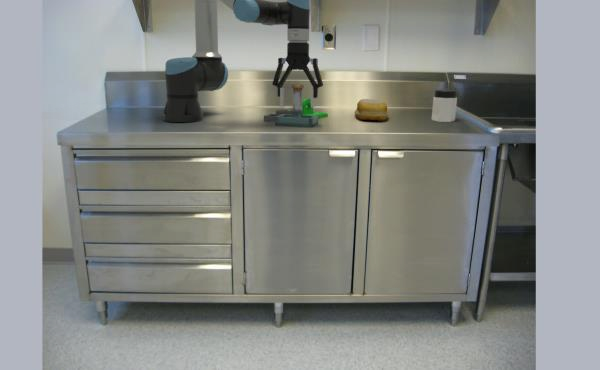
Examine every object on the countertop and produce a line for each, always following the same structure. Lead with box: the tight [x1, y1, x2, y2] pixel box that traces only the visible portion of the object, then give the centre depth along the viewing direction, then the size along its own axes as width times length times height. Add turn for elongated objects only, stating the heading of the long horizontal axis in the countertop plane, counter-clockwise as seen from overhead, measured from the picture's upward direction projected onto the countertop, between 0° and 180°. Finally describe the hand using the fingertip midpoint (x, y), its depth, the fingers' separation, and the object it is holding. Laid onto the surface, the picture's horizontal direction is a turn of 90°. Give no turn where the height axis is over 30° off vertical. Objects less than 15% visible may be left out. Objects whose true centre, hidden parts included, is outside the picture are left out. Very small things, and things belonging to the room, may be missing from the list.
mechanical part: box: [302, 98, 329, 120], centre depth 198 cm, size 12×6×8 cm, turn 140°
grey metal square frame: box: [263, 113, 282, 123], centre depth 190 cm, size 7×7×2 cm
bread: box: [354, 98, 389, 122], centre depth 201 cm, size 13×26×8 cm, turn 177°
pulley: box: [275, 105, 293, 115], centre depth 201 cm, size 9×9×4 cm
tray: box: [274, 114, 319, 128], centre depth 179 cm, size 13×9×3 cm
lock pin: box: [291, 84, 305, 118], centre depth 177 cm, size 4×4×13 cm
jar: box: [431, 89, 458, 123], centre depth 194 cm, size 9×8×12 cm
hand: (297, 106), depth 178 cm, fingers open, 10 cm apart
